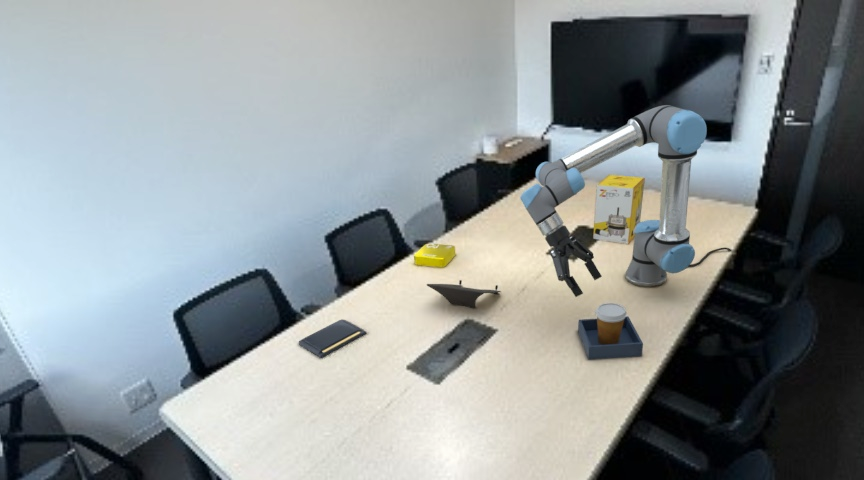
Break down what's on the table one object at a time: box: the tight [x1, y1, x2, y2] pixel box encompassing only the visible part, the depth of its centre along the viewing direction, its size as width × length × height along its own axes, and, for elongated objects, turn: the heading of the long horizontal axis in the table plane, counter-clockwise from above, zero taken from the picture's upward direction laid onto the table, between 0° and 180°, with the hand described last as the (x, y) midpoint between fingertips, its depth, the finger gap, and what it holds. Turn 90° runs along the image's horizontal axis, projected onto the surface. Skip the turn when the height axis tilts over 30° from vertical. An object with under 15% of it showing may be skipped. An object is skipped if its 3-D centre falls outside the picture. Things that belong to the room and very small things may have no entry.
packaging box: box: [592, 174, 646, 245], centre depth 242 cm, size 16×16×25 cm
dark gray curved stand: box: [426, 279, 502, 309], centre depth 204 cm, size 23×23×9 cm
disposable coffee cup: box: [594, 302, 628, 345], centre depth 172 cm, size 10×10×12 cm
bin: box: [577, 315, 644, 361], centre depth 174 cm, size 17×17×5 cm
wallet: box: [298, 319, 367, 359], centre depth 190 cm, size 20×2×15 cm
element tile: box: [413, 243, 457, 268], centre depth 240 cm, size 15×15×5 cm
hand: (589, 286), depth 173 cm, fingers open, 13 cm apart
